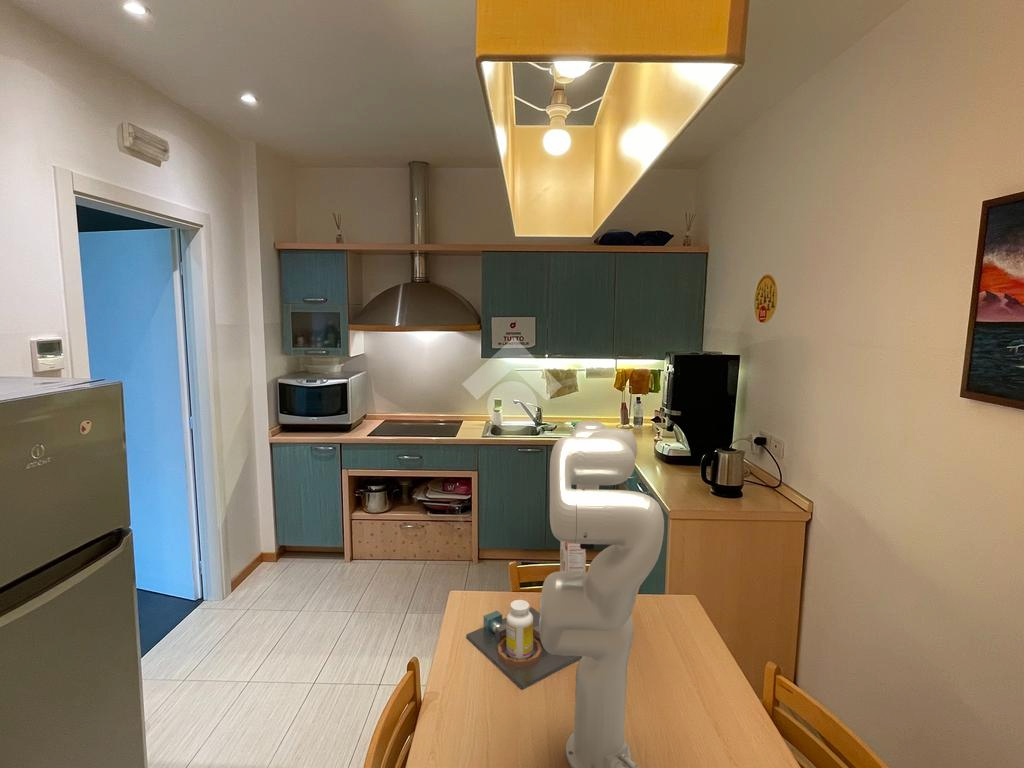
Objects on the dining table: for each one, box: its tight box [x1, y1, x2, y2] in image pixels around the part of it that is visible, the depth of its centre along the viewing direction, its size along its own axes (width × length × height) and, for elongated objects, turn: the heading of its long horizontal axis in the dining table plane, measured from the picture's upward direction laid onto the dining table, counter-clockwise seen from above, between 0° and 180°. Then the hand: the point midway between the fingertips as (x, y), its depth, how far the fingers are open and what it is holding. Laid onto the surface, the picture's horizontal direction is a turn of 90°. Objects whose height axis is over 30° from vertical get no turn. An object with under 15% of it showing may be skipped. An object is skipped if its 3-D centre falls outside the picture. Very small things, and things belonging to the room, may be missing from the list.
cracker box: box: [559, 541, 587, 572], centre depth 158 cm, size 14×6×21 cm, turn 2°
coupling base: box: [465, 606, 582, 691], centre depth 136 cm, size 24×22×5 cm
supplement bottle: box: [506, 599, 533, 660], centre depth 131 cm, size 7×7×13 cm
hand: (586, 539), depth 129 cm, fingers open, 9 cm apart
